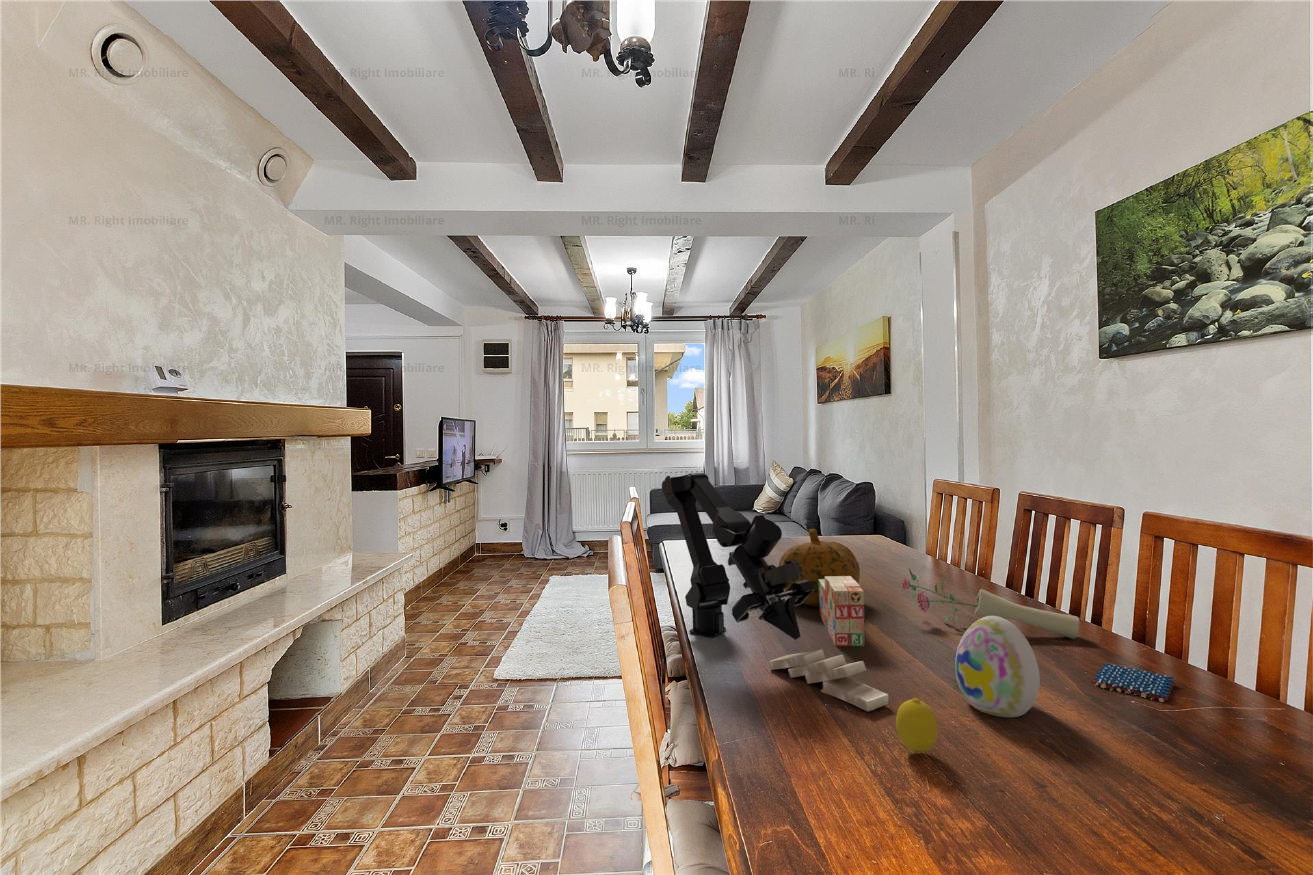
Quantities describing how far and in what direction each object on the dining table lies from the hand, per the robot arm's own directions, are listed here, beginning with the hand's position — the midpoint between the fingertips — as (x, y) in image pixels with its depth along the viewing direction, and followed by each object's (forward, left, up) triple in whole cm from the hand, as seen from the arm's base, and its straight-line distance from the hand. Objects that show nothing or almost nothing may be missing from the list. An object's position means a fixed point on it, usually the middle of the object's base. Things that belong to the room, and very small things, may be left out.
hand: (798, 638), depth 116 cm
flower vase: (+27, +44, -7) cm, 52 cm away
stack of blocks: (-1, +29, -7) cm, 30 cm away
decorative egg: (+33, +5, -7) cm, 34 cm away
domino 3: (+4, -1, -6) cm, 7 cm away
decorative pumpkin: (-13, +49, -7) cm, 51 cm away
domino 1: (-5, +2, -6) cm, 8 cm away
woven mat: (+52, +26, -8) cm, 58 cm away
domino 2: (0, 0, -6) cm, 6 cm away
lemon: (+25, -17, -7) cm, 31 cm away
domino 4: (+7, -3, -6) cm, 10 cm away
